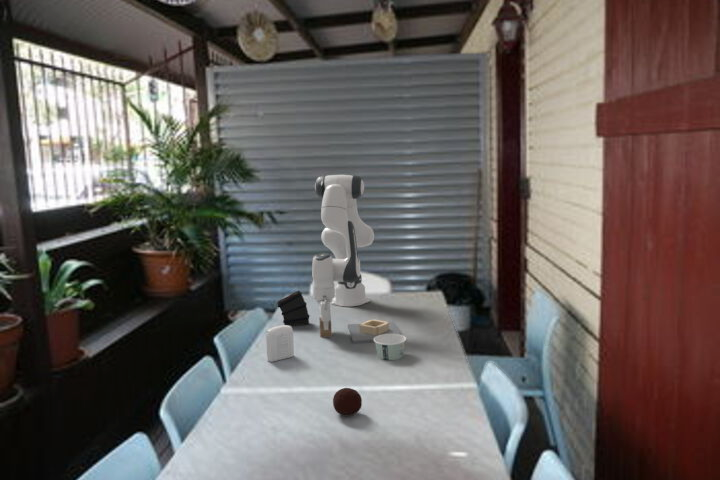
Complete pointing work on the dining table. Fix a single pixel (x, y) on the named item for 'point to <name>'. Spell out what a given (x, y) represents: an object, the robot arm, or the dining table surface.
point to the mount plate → (368, 336)
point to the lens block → (325, 332)
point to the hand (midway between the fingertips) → (325, 326)
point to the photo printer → (279, 343)
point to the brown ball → (347, 401)
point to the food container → (390, 346)
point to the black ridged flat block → (294, 310)
